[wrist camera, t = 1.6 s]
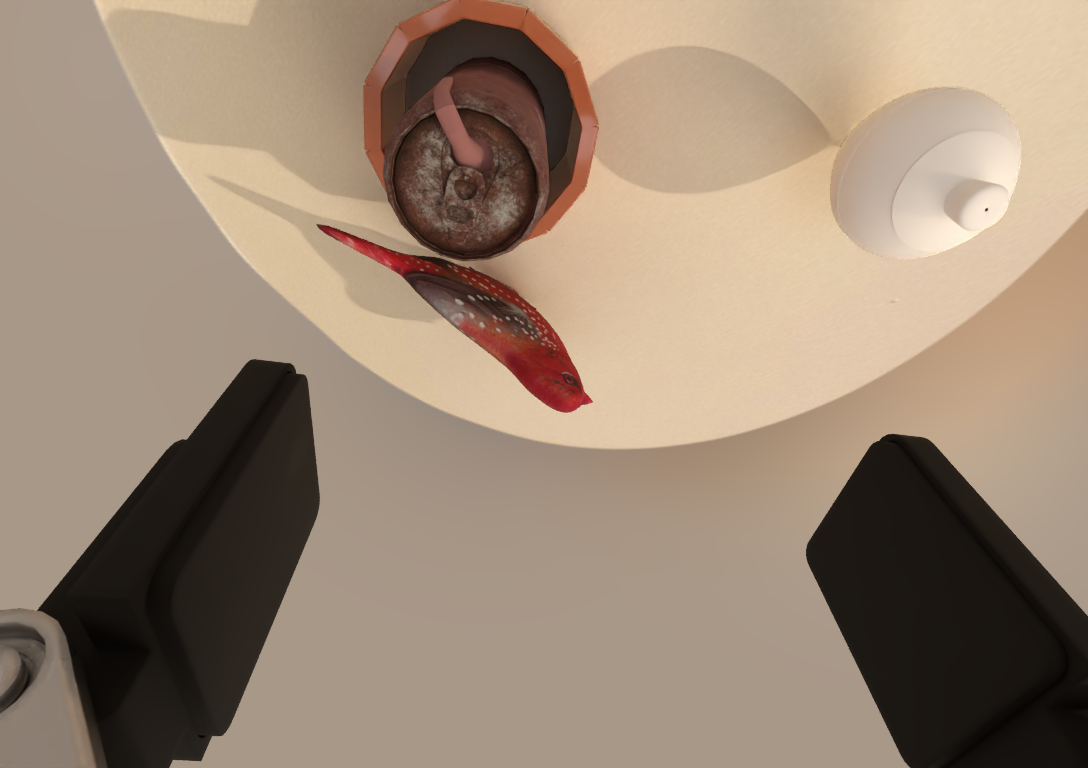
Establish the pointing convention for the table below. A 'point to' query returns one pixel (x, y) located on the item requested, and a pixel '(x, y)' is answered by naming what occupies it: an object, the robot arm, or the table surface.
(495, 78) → the can
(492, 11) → the pot
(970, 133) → the spinning top
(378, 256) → the decorative bird figurine
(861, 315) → the table surface
